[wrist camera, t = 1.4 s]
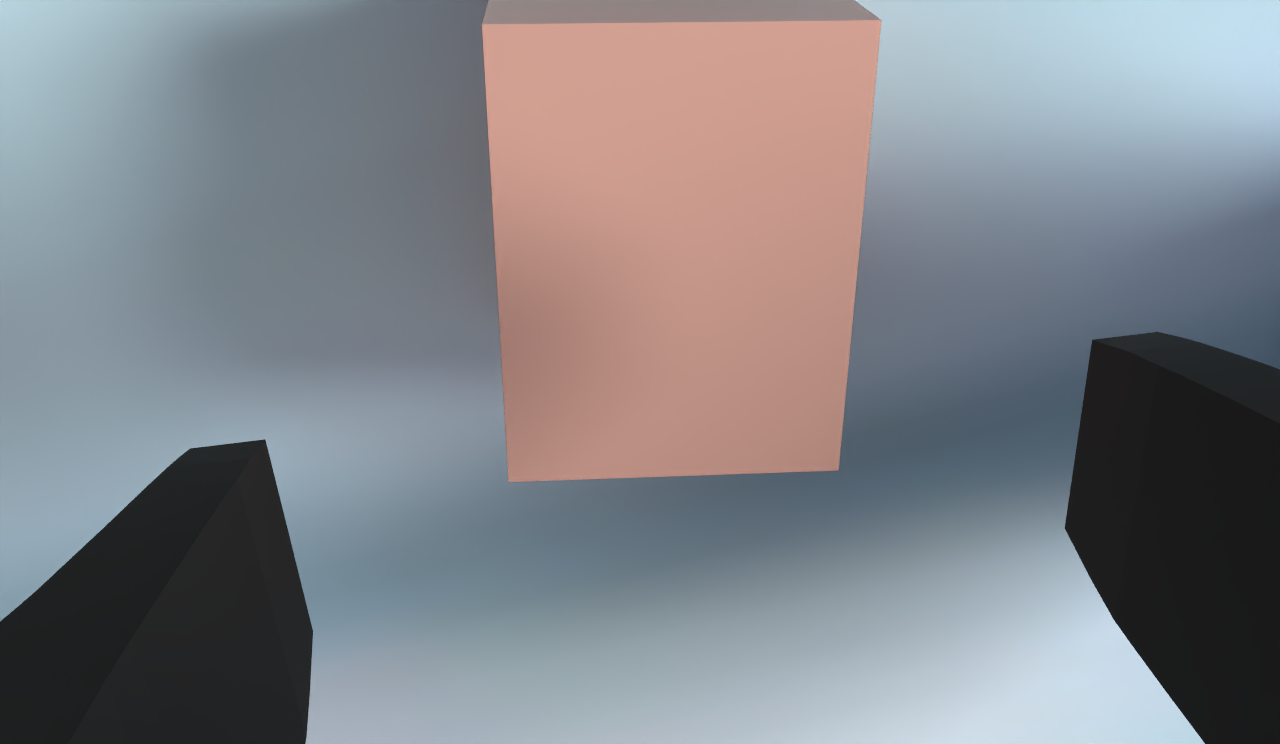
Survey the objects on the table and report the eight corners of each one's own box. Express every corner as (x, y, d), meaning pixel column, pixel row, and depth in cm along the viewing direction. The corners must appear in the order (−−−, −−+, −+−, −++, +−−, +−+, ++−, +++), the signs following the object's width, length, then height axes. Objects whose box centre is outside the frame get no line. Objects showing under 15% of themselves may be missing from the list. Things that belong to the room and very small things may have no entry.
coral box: (797, -42, 18) (880, 20, 13) (775, 318, 20) (838, 470, 16) (499, -39, 17) (481, 23, 13) (518, 325, 20) (508, 481, 16)
